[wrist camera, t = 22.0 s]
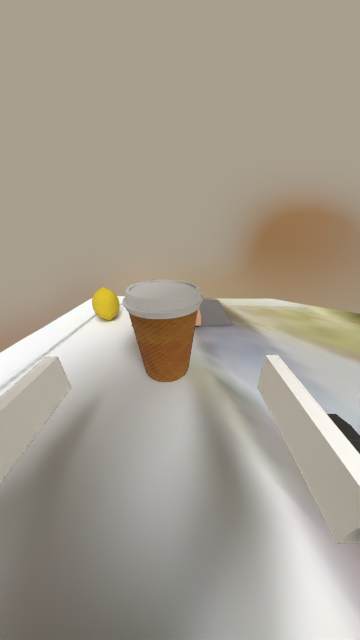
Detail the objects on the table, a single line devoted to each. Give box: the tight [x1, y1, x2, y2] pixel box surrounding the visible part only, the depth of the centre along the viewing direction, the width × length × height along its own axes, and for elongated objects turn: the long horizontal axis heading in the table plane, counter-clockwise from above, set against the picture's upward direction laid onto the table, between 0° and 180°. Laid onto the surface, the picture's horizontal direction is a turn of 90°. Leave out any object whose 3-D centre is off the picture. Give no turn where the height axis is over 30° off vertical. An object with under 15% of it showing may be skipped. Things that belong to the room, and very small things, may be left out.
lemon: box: [92, 287, 119, 321], centre depth 38 cm, size 6×6×8 cm
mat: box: [132, 300, 232, 326], centre depth 44 cm, size 22×16×1 cm
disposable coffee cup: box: [123, 280, 203, 382], centre depth 22 cm, size 10×10×12 cm
